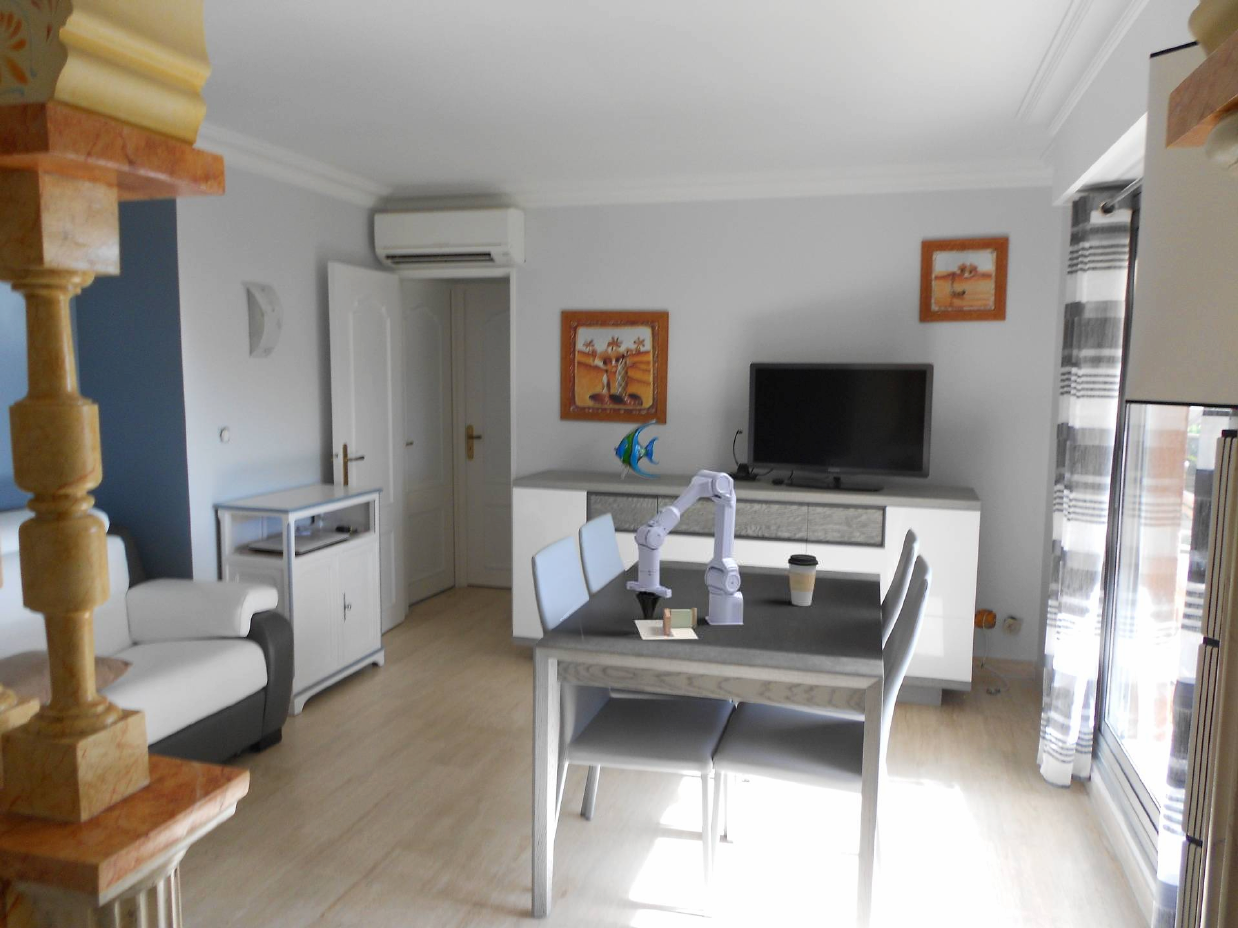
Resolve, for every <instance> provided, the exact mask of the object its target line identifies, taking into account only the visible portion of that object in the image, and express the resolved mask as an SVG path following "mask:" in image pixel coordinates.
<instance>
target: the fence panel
mask: <svg viewBox="0 0 1238 928" xmlns="http://www.w3.org/2000/svg"><path fill="white" fill-rule="evenodd" d="M662 611H663V613H662V615H663V616H662V620H663V627H664V628H665V632H666V635H670V634H671V615H670V608H668V607H665V608H663V609H662Z"/></svg>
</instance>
